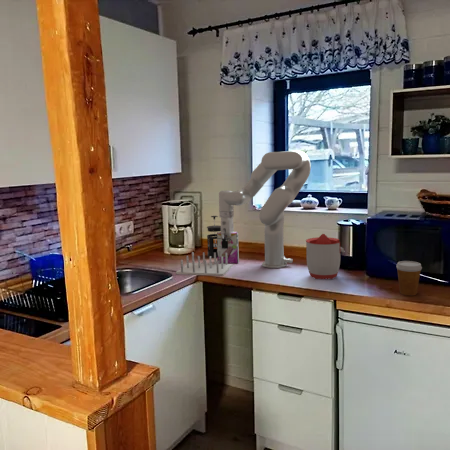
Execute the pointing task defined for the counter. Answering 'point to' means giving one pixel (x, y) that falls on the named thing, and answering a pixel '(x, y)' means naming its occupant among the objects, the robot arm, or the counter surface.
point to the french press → (210, 239)
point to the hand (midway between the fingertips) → (227, 246)
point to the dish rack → (205, 267)
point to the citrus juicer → (323, 257)
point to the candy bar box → (231, 251)
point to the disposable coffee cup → (408, 277)
